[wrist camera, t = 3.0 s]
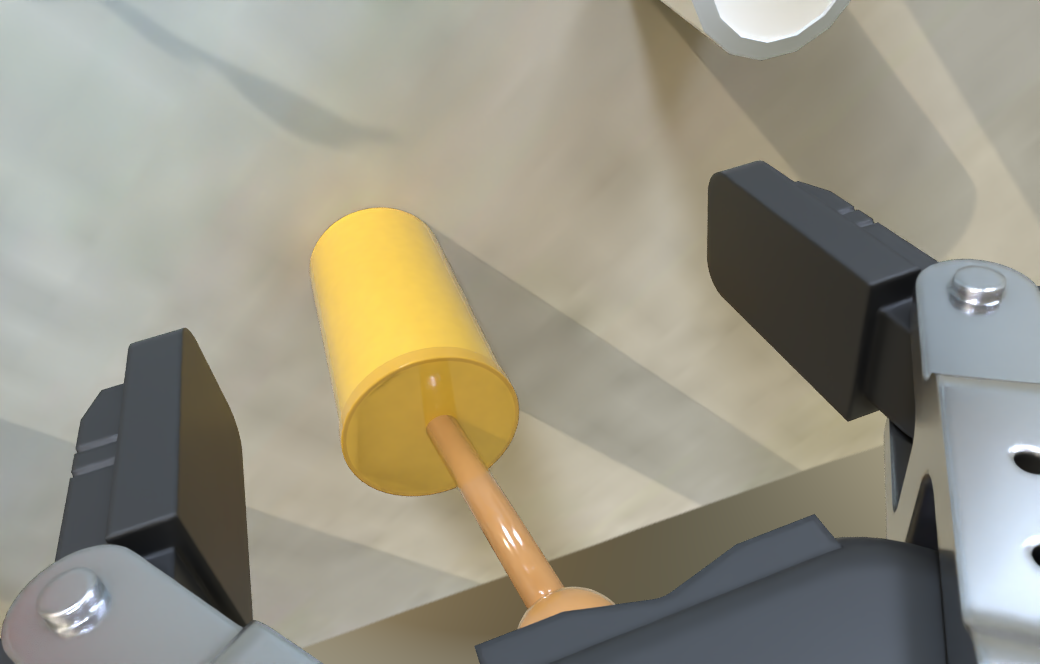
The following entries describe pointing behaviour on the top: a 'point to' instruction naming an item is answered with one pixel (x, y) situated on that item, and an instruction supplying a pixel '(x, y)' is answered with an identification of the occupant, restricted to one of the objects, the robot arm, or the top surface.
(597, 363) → the top surface
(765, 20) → the white cylinder
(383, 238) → the spoon crock
